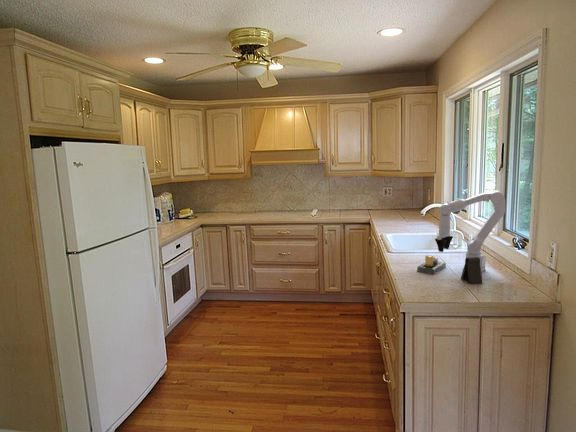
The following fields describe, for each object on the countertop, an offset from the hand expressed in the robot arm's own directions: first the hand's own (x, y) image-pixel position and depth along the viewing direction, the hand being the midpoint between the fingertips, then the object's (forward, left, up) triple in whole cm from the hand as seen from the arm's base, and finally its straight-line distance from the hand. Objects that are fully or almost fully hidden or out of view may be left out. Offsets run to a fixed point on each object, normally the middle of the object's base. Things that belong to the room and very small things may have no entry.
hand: (443, 250), depth 217 cm
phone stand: (-20, +15, -10) cm, 27 cm away
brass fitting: (+3, +12, -9) cm, 15 cm away
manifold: (+3, +8, -9) cm, 13 cm away
